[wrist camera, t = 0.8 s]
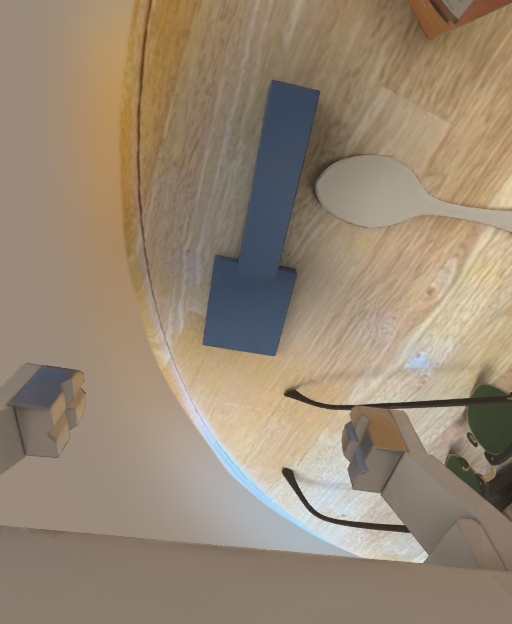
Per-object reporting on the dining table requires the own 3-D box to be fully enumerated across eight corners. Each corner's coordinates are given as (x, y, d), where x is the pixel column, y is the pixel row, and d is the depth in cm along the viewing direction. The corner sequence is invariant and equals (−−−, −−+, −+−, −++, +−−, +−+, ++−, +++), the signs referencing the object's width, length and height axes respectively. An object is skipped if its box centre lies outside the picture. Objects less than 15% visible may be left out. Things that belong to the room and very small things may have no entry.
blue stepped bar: (240, 78, 18) (237, 71, 16) (340, 101, 19) (353, 98, 16) (203, 339, 26) (198, 361, 24) (274, 350, 27) (276, 373, 24)
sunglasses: (284, 360, 27) (289, 405, 23) (498, 357, 27) (544, 402, 23) (281, 489, 35) (284, 541, 31) (446, 488, 35) (473, 540, 31)
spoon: (321, 142, 20) (326, 143, 18) (639, 207, 21) (666, 213, 20) (303, 213, 22) (306, 220, 20) (596, 268, 23) (618, 278, 22)
